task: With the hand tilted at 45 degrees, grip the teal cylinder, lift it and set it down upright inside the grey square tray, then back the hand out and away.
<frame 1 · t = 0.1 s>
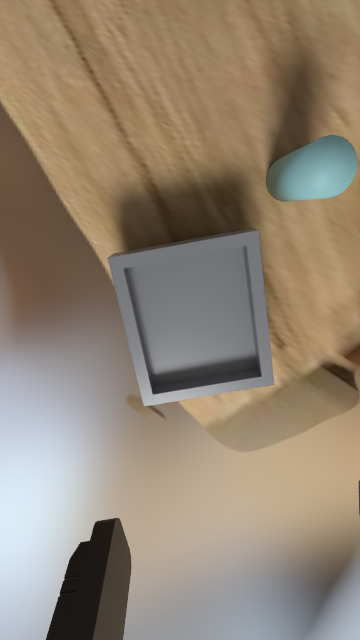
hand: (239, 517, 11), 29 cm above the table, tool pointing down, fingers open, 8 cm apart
teal cylinder: (287, 179, 35), on the table
grey square tray: (193, 307, 39), on the table
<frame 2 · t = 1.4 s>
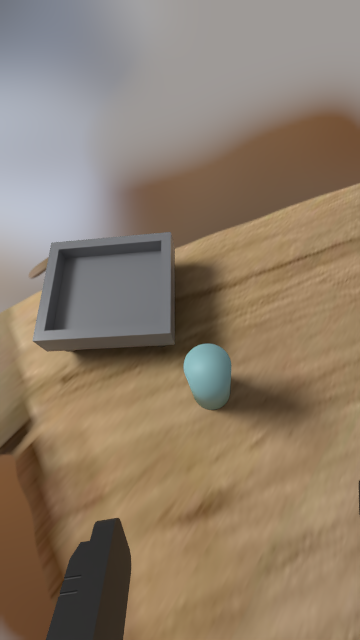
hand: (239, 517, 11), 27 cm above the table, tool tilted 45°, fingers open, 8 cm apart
teal cylinder: (211, 391, 40), on the table
grey square tray: (120, 308, 46), on the table
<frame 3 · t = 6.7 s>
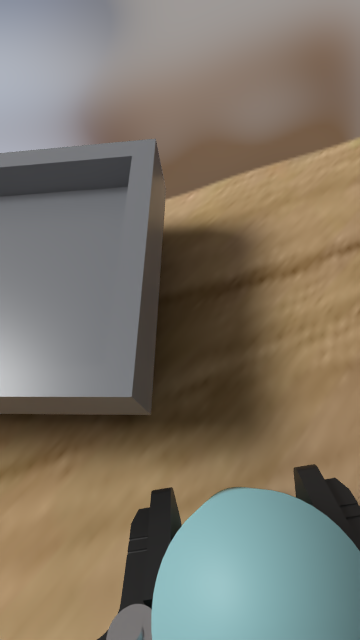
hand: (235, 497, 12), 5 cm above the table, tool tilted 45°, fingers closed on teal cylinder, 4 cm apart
teal cylinder: (242, 541, 15), on the table, touching gripper
grey square tray: (46, 312, 22), on the table
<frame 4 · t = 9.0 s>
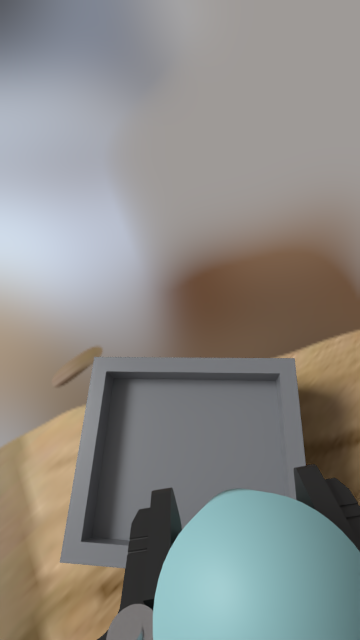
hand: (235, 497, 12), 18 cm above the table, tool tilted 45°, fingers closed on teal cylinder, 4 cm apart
teal cylinder: (242, 542, 15), point 14 cm above the table, touching gripper
grey square tray: (194, 458, 29), on the table
when the fingers open (11 cm above the table, at t = 11.6 s): teal cylinder drops 1 cm, resting on grey square tray.
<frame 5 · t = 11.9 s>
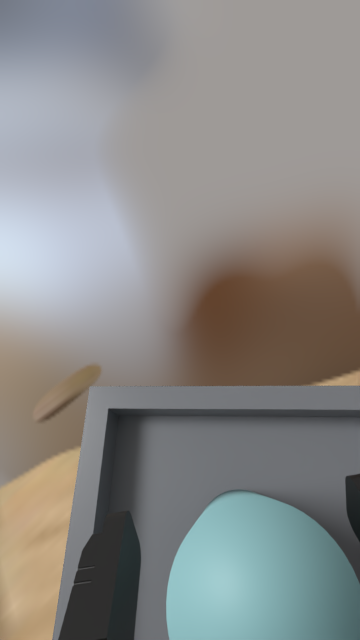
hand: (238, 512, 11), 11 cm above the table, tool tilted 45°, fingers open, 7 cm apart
teal cylinder: (242, 539, 16), point 5 cm above the table, touching grey square tray
grey square tray: (237, 526, 20), on the table
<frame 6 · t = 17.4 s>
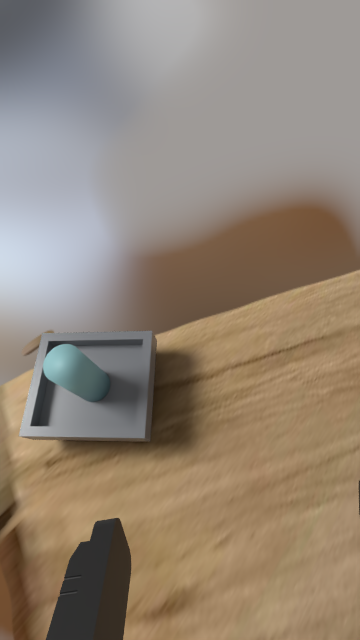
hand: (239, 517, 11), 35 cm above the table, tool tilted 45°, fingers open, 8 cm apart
teal cylinder: (94, 385, 46), point 5 cm above the table, touching grey square tray
grey square tray: (104, 393, 50), on the table
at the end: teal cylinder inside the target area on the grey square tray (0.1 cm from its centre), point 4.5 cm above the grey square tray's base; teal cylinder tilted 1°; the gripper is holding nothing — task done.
